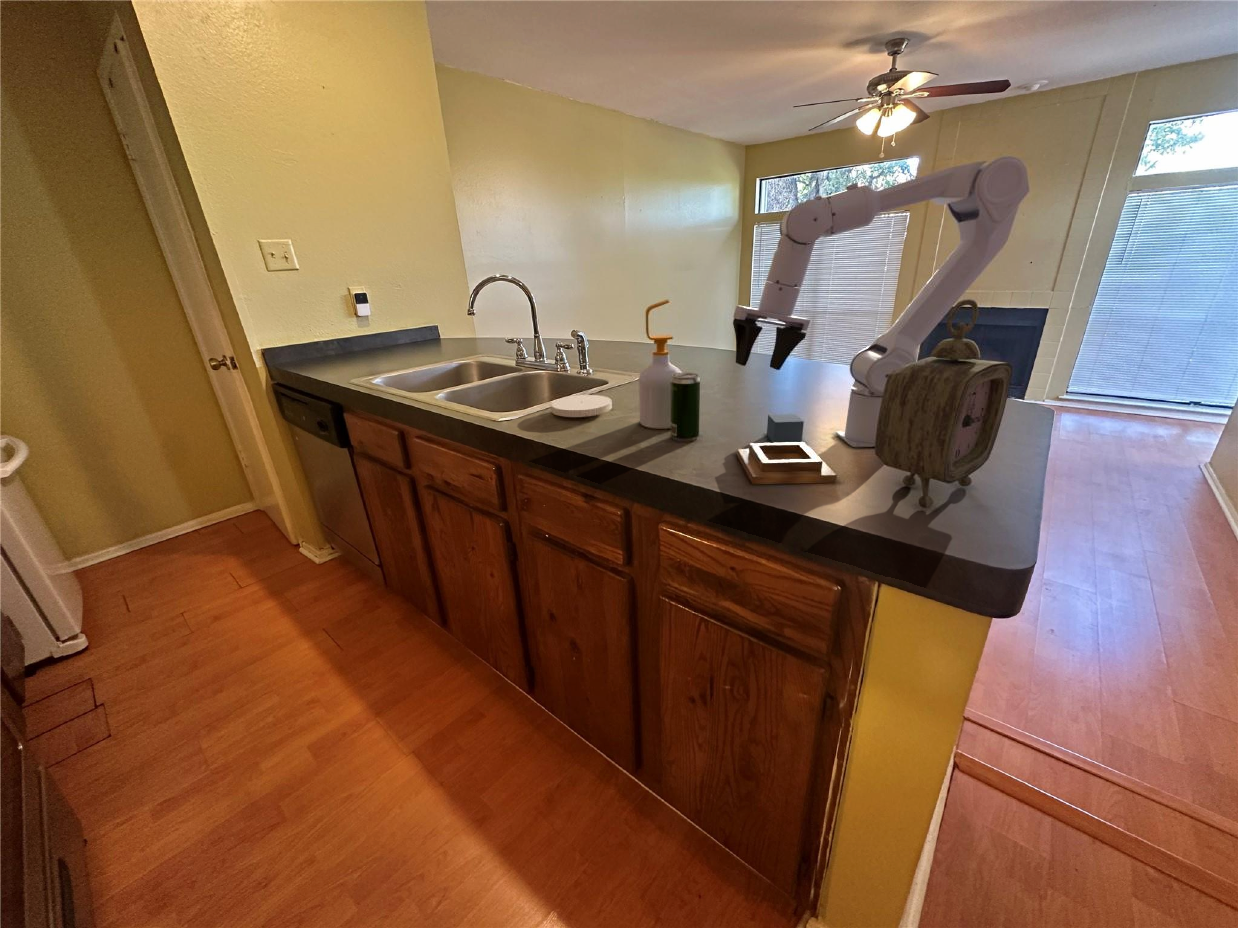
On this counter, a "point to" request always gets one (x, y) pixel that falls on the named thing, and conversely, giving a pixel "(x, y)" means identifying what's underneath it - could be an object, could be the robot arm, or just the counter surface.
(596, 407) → the plastic lid
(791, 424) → the dark gray block
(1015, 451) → the counter surface
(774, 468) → the base pad
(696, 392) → the beer can
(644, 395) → the soap bottle
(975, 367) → the tabletop clock
